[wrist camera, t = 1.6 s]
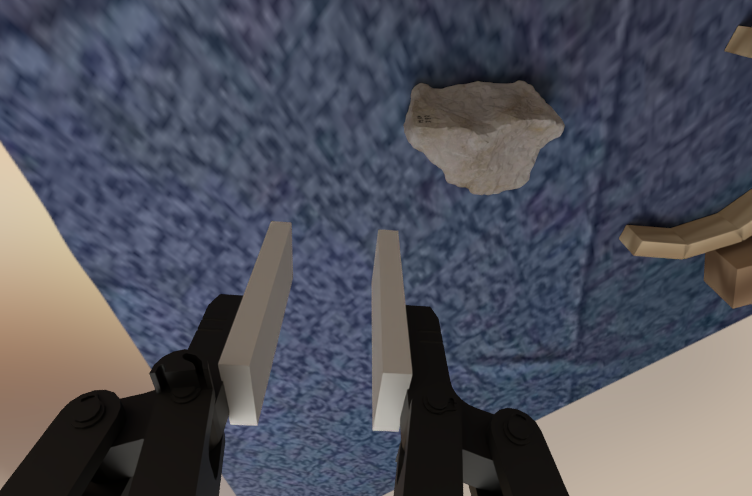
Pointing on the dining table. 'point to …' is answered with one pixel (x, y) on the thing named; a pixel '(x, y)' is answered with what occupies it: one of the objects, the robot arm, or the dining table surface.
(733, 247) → the walnut block
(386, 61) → the dining table surface
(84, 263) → the dining table surface
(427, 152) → the stone
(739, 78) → the dining table surface
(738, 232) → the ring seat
